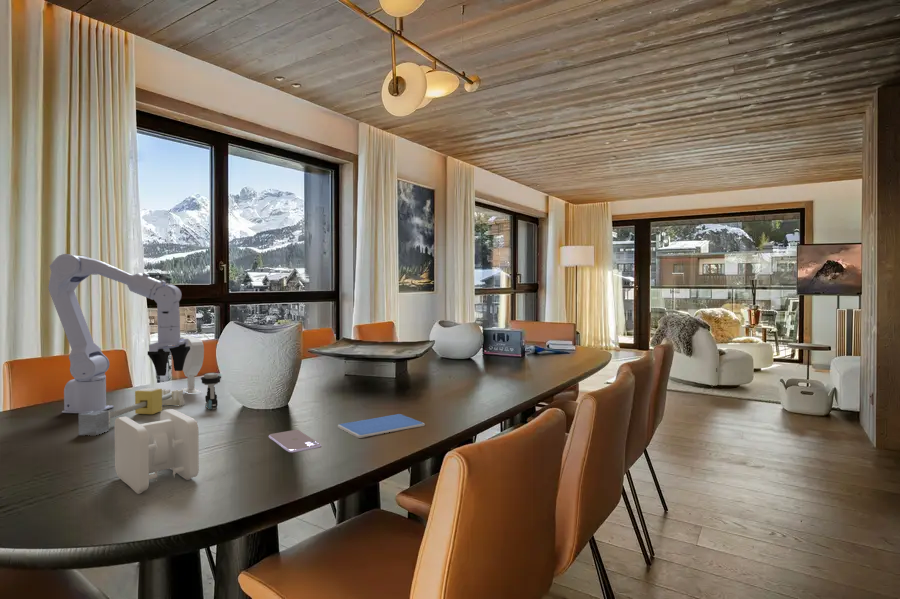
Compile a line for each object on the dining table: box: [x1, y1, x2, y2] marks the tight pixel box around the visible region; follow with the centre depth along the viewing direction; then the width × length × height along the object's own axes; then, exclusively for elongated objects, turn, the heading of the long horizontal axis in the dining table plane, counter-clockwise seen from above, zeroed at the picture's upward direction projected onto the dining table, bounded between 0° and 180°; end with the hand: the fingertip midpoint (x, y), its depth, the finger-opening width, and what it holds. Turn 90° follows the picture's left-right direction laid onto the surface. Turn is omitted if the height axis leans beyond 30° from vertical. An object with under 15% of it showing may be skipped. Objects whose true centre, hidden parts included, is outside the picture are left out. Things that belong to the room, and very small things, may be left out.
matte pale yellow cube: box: [134, 387, 163, 415], centre depth 142 cm, size 5×4×6 cm
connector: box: [77, 410, 111, 437], centre depth 124 cm, size 4×5×5 cm
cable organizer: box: [114, 408, 200, 495], centre depth 95 cm, size 15×11×12 cm
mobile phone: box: [268, 429, 322, 453], centre depth 118 cm, size 8×1×15 cm
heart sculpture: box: [180, 336, 205, 393], centre depth 171 cm, size 16×5×18 cm, turn 43°
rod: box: [110, 391, 172, 419], centre depth 139 cm, size 1×27×1 cm, turn 174°
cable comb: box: [162, 388, 185, 407], centre depth 151 cm, size 7×2×4 cm, turn 84°
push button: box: [200, 372, 222, 410], centre depth 148 cm, size 7×5×10 cm
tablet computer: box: [337, 413, 426, 439], centre depth 132 cm, size 19×13×1 cm, turn 128°
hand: (170, 373), depth 149 cm, fingers open, 7 cm apart
